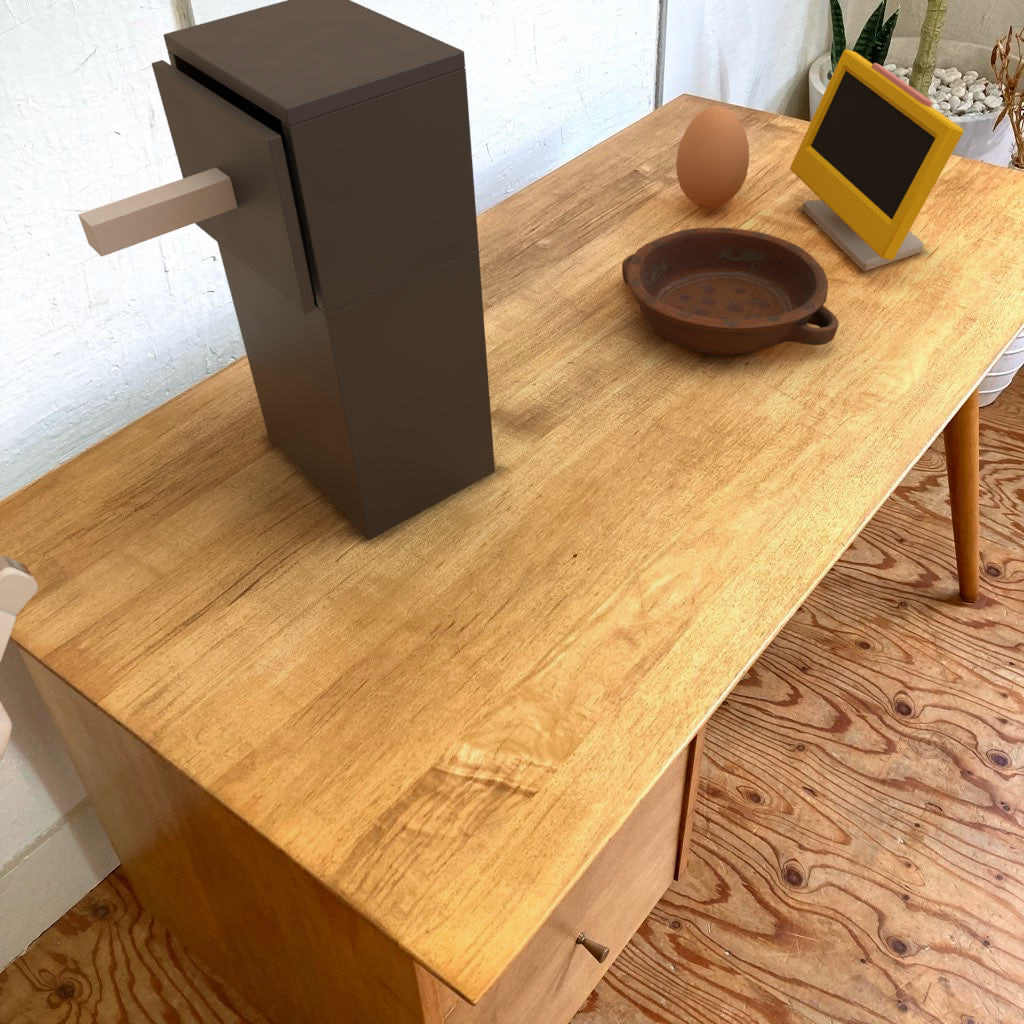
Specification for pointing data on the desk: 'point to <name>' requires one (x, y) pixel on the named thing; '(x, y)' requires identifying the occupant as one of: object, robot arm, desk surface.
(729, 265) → the dish
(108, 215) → the drawer
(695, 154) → the egg
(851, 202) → the toy computer monitor
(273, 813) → the desk surface
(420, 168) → the cabinet
